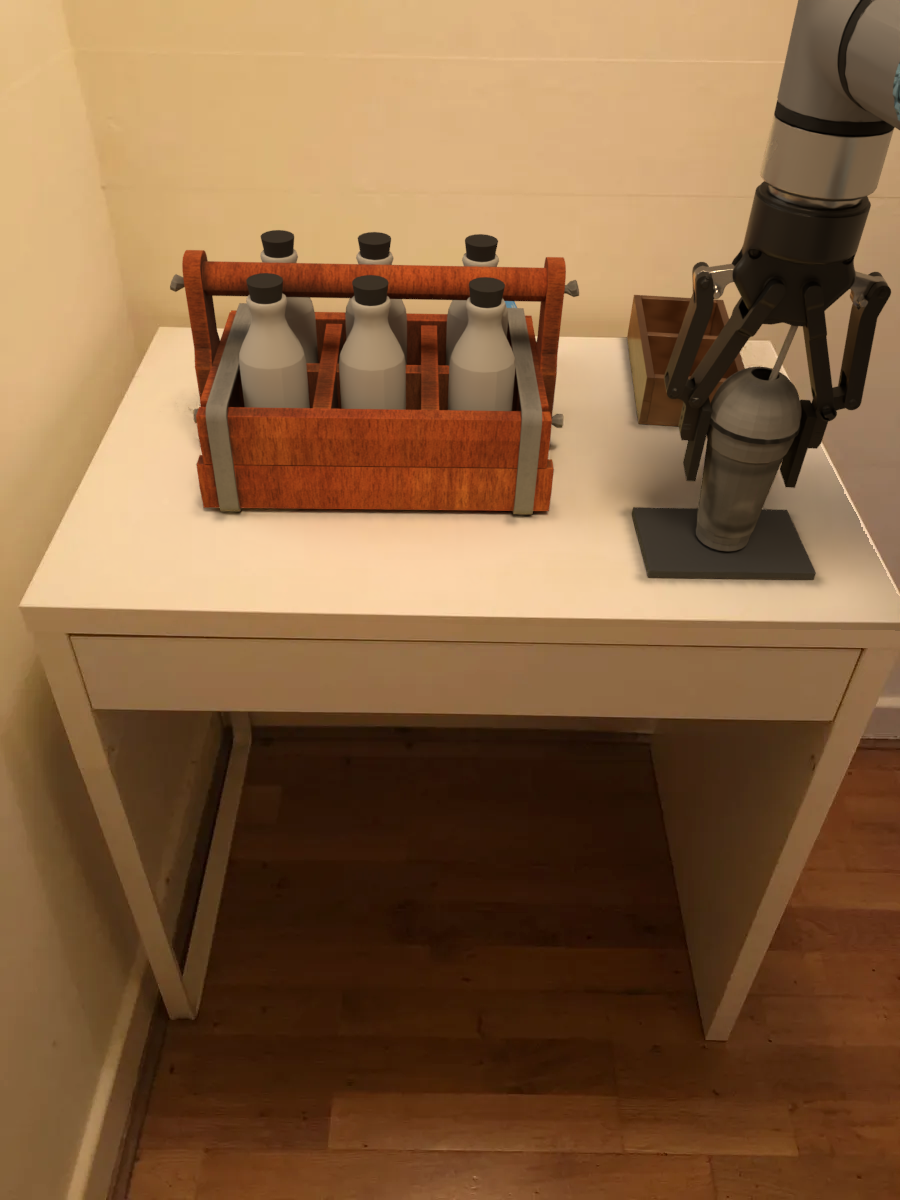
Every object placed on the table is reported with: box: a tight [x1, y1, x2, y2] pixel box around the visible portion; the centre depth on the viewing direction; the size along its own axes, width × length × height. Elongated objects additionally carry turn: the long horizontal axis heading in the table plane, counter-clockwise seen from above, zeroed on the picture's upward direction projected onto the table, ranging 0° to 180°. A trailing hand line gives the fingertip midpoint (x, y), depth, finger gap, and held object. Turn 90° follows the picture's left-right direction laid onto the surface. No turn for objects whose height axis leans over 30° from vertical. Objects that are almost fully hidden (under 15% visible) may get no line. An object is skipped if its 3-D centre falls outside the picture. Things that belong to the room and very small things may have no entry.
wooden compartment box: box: [626, 294, 746, 427], centre depth 106 cm, size 10×19×5 cm, turn 176°
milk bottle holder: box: [169, 229, 580, 515], centre depth 88 cm, size 21×35×19 cm, turn 91°
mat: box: [631, 506, 817, 581], centre depth 85 cm, size 14×9×1 cm, turn 91°
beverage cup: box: [696, 325, 802, 551], centre depth 78 cm, size 7×7×20 cm
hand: (738, 474), depth 80 cm, fingers closed on beverage cup, 7 cm apart
